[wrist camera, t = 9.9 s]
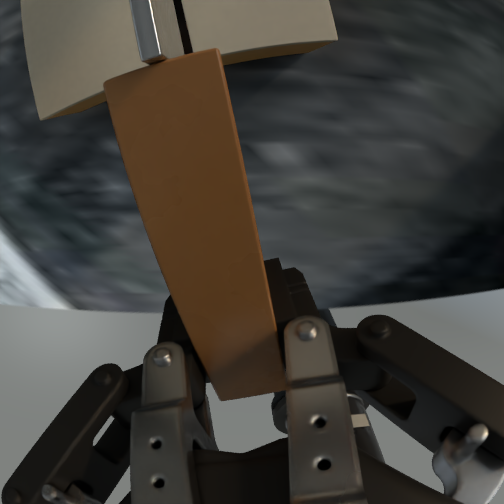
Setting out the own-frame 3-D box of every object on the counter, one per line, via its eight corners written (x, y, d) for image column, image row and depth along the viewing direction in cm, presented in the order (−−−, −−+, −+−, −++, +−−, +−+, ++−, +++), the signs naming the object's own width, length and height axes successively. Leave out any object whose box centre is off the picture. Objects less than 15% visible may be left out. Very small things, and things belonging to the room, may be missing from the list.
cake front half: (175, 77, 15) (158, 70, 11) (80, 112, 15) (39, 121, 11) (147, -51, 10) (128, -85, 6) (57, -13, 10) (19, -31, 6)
